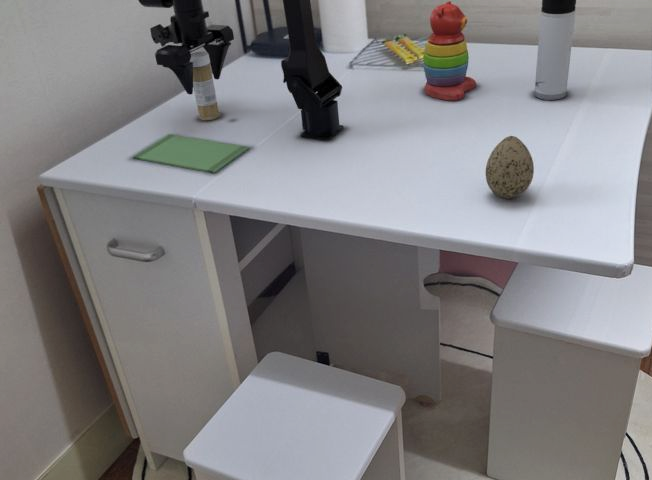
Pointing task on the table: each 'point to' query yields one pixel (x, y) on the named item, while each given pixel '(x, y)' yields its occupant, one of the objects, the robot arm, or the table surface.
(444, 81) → the stacking bear
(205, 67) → the sprinkles bottle
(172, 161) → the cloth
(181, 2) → the robot arm
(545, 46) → the travel mug
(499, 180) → the decorative egg
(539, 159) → the table surface
